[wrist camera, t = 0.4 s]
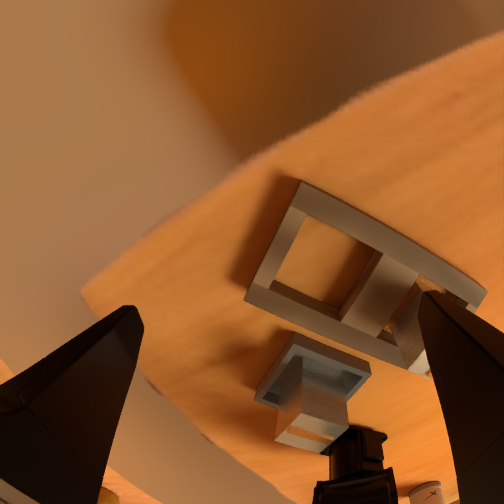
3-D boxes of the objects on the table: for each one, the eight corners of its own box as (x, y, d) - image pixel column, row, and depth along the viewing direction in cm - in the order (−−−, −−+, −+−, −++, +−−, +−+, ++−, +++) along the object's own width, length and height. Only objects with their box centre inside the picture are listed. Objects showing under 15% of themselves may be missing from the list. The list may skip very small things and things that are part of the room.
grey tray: (324, 412, 29) (324, 424, 27) (256, 388, 29) (254, 400, 27) (368, 362, 26) (371, 374, 24) (294, 331, 26) (293, 343, 24)
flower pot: (134, 505, 52) (125, 524, 45) (107, 497, 54) (98, 514, 47) (112, 487, 49) (102, 507, 42) (86, 478, 51) (75, 497, 45)
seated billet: (420, 335, 24) (446, 385, 18) (386, 319, 24) (407, 372, 18) (447, 297, 23) (482, 342, 16) (413, 279, 23) (446, 323, 16)
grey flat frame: (419, 363, 25) (424, 376, 24) (247, 289, 25) (243, 300, 23) (478, 282, 22) (488, 291, 20) (301, 179, 22) (301, 182, 20)
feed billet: (342, 372, 26) (349, 429, 20) (318, 399, 28) (319, 455, 21) (302, 356, 26) (300, 415, 20) (281, 386, 28) (273, 442, 21)
